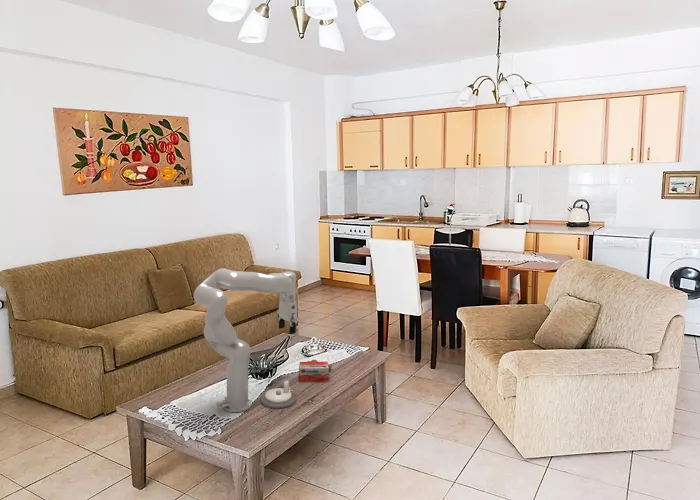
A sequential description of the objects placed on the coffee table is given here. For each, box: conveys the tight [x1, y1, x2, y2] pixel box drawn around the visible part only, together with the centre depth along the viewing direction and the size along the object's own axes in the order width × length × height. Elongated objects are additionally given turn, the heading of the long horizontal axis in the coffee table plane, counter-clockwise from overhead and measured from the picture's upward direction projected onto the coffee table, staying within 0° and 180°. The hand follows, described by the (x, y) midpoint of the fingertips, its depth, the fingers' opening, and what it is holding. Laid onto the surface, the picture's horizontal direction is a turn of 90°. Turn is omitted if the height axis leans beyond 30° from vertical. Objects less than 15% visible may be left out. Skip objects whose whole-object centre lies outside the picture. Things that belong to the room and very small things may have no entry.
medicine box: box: [298, 361, 330, 383], centre depth 265 cm, size 15×8×8 cm, turn 96°
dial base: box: [260, 386, 297, 410], centre depth 241 cm, size 16×16×4 cm
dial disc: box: [265, 380, 294, 403], centre depth 241 cm, size 14×12×6 cm
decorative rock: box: [306, 359, 333, 371], centre depth 277 cm, size 11×4×15 cm
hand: (287, 330), depth 252 cm, fingers open, 9 cm apart
